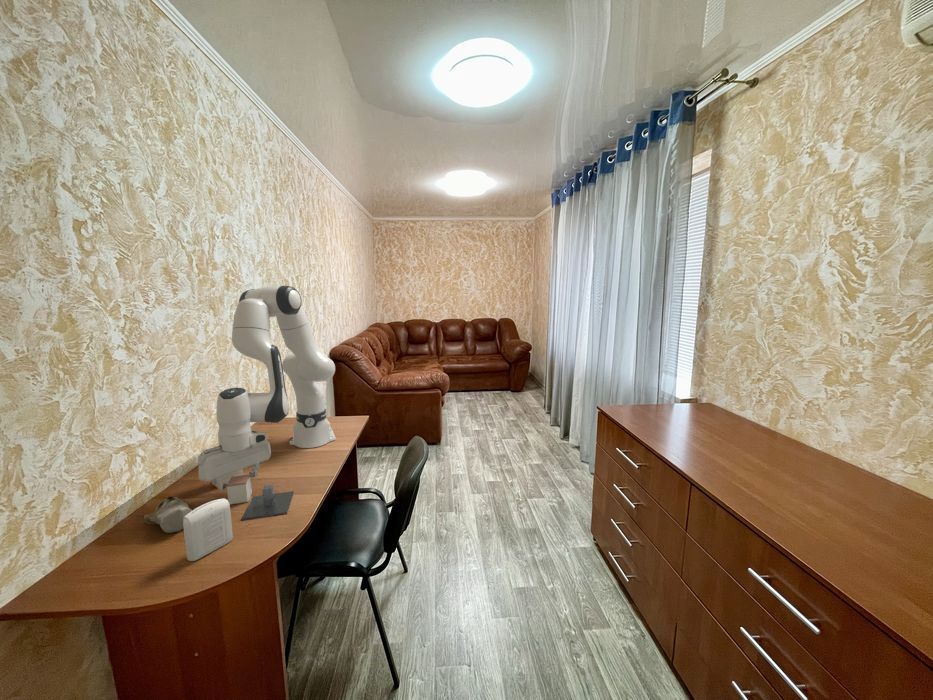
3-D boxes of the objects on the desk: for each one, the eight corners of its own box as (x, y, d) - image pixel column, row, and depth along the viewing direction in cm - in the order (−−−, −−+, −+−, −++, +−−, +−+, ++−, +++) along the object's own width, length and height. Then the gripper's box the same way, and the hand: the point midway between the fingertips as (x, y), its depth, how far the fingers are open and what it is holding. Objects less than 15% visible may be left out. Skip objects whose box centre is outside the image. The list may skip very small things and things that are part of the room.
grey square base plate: (253, 497, 117) (251, 480, 116) (294, 492, 120) (292, 475, 119) (241, 520, 105) (239, 501, 104) (287, 513, 109) (285, 495, 108)
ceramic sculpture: (153, 513, 94) (136, 497, 102) (157, 544, 95) (140, 526, 103) (201, 495, 102) (182, 481, 111) (205, 524, 103) (185, 508, 112)
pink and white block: (233, 495, 118) (231, 476, 117) (252, 492, 119) (250, 474, 118) (228, 504, 113) (226, 485, 112) (247, 501, 114) (245, 482, 113)
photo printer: (227, 534, 99) (222, 492, 97) (236, 539, 97) (232, 496, 95) (183, 558, 90) (177, 512, 88) (192, 564, 88) (187, 517, 86)
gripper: (203, 454, 103) (206, 500, 105) (272, 433, 120) (274, 472, 122) (192, 449, 106) (195, 494, 108) (261, 429, 123) (263, 468, 125)
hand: (238, 482), depth 115 cm, fingers open, 8 cm apart
